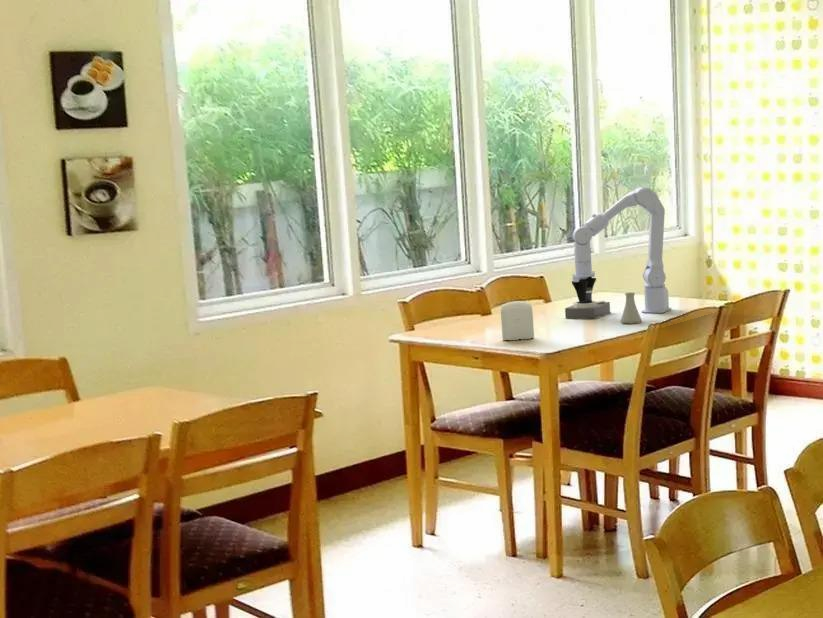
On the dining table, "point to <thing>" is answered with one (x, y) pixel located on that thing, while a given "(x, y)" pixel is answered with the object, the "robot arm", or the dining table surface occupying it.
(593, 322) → the dining table surface
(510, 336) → the white rounded slab
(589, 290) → the lens
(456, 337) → the dining table surface
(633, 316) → the flask
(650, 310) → the robot arm
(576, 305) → the camera body
